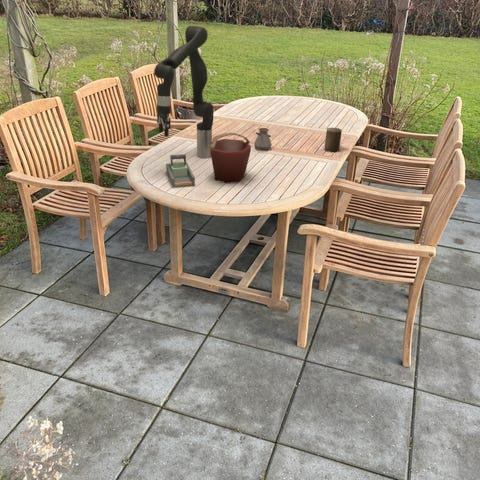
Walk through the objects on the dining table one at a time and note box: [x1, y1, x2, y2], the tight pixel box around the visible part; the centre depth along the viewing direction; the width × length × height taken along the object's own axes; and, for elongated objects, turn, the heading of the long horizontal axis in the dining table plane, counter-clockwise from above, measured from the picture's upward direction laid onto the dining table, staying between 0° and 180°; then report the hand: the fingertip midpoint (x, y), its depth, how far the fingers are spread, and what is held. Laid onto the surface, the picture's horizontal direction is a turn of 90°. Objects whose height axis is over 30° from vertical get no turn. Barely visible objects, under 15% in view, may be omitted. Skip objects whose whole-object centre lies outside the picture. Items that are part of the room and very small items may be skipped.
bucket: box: [209, 132, 252, 184], centre depth 277 cm, size 24×22×25 cm
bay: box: [165, 161, 196, 189], centre depth 277 cm, size 12×23×5 cm, turn 16°
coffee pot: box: [253, 127, 273, 151], centre depth 319 cm, size 21×12×15 cm, turn 159°
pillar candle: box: [324, 127, 343, 153], centre depth 325 cm, size 10×10×15 cm
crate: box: [168, 153, 188, 177], centre depth 279 cm, size 8×10×11 cm
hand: (163, 134), depth 275 cm, fingers open, 8 cm apart
